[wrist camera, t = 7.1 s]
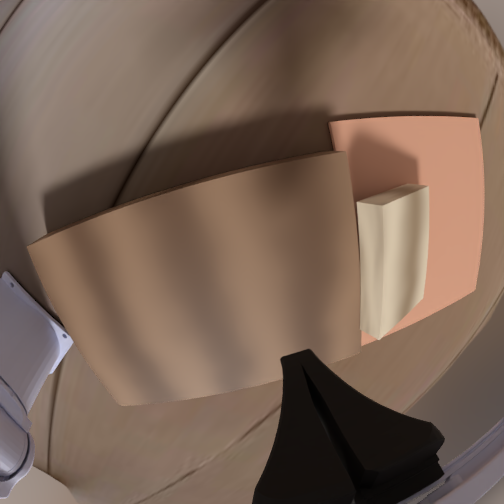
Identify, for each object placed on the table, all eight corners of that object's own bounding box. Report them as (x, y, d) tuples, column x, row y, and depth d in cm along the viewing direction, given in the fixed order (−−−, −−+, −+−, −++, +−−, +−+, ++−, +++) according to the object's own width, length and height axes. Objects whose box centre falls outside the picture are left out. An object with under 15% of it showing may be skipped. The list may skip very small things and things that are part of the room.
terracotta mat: (352, 346, 24) (354, 348, 24) (327, 122, 17) (330, 122, 17) (473, 288, 25) (475, 290, 24) (475, 118, 18) (478, 118, 17)
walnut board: (126, 384, 23) (120, 406, 20) (46, 234, 17) (26, 246, 14) (347, 332, 23) (361, 352, 21) (327, 150, 18) (346, 151, 15)
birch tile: (359, 329, 20) (379, 340, 18) (356, 202, 16) (382, 205, 14) (406, 291, 22) (423, 298, 21) (407, 183, 19) (428, 185, 17)
